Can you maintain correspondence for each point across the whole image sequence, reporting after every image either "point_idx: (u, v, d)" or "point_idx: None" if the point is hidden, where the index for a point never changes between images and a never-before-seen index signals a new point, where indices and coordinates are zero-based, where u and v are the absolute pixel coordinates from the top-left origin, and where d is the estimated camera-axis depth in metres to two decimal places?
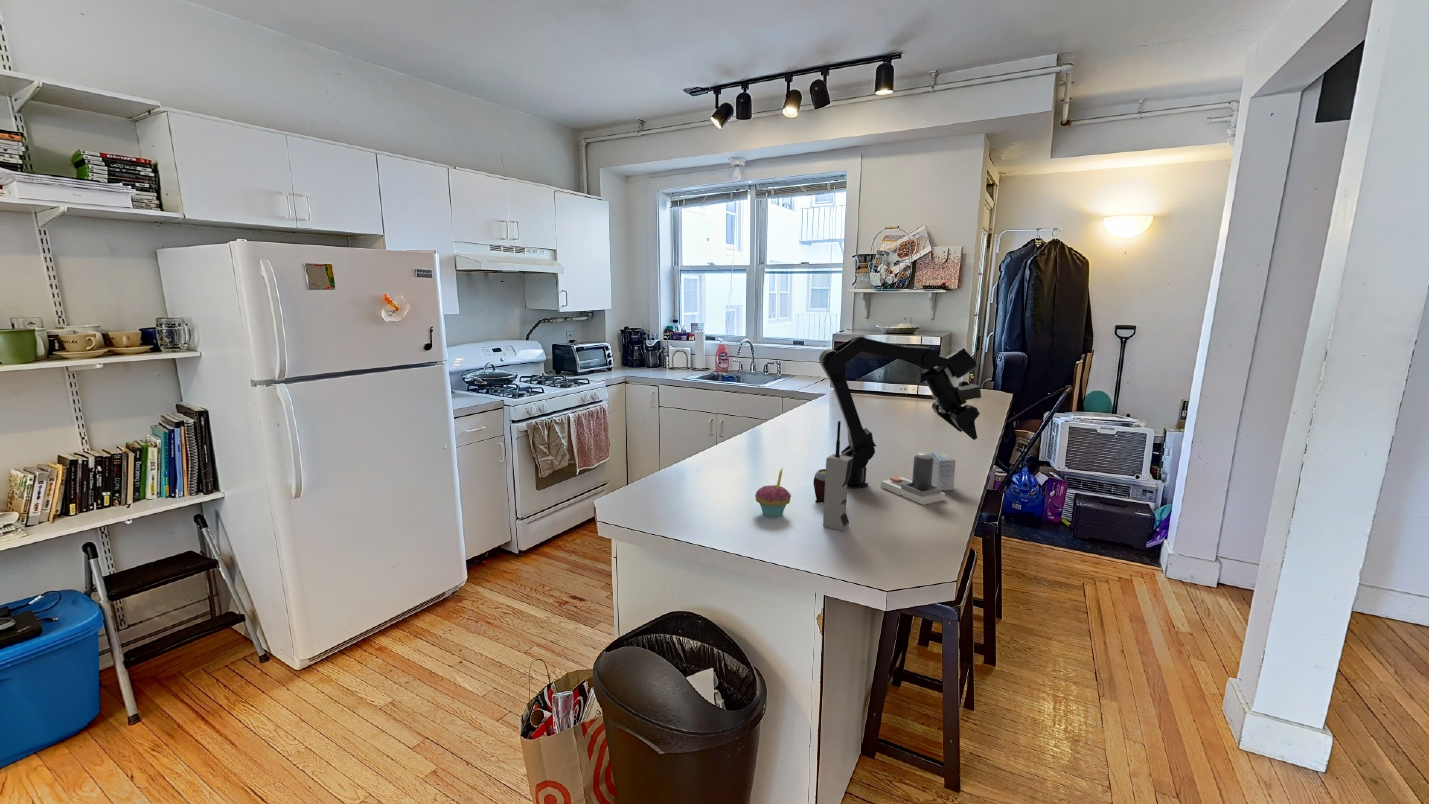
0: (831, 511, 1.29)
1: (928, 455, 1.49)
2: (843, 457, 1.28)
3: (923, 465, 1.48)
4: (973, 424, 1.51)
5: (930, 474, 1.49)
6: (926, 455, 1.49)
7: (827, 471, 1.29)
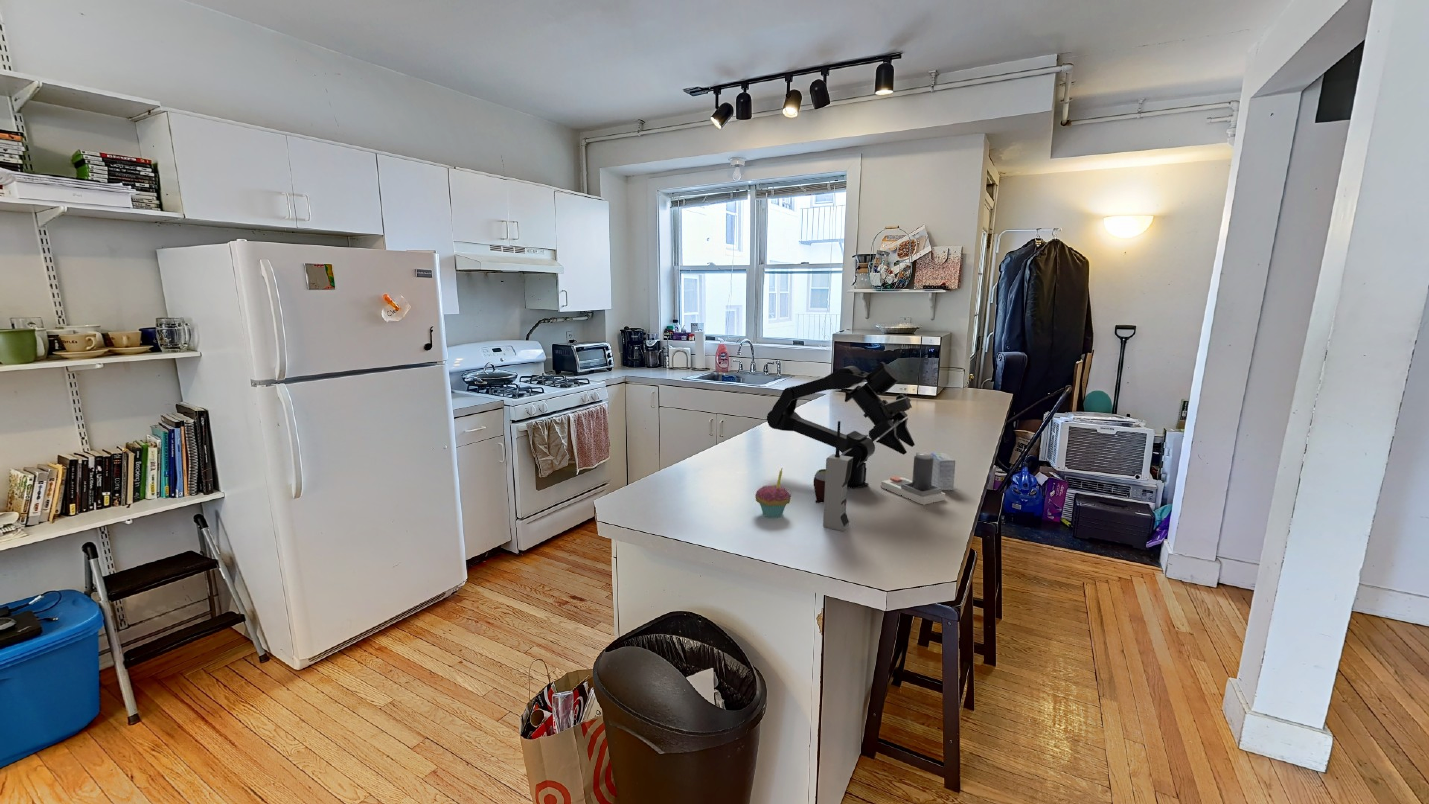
0: (831, 511, 1.29)
1: (928, 455, 1.49)
2: (843, 457, 1.28)
3: (923, 465, 1.48)
4: (894, 438, 1.47)
5: (930, 474, 1.49)
6: (926, 455, 1.49)
7: (827, 471, 1.29)
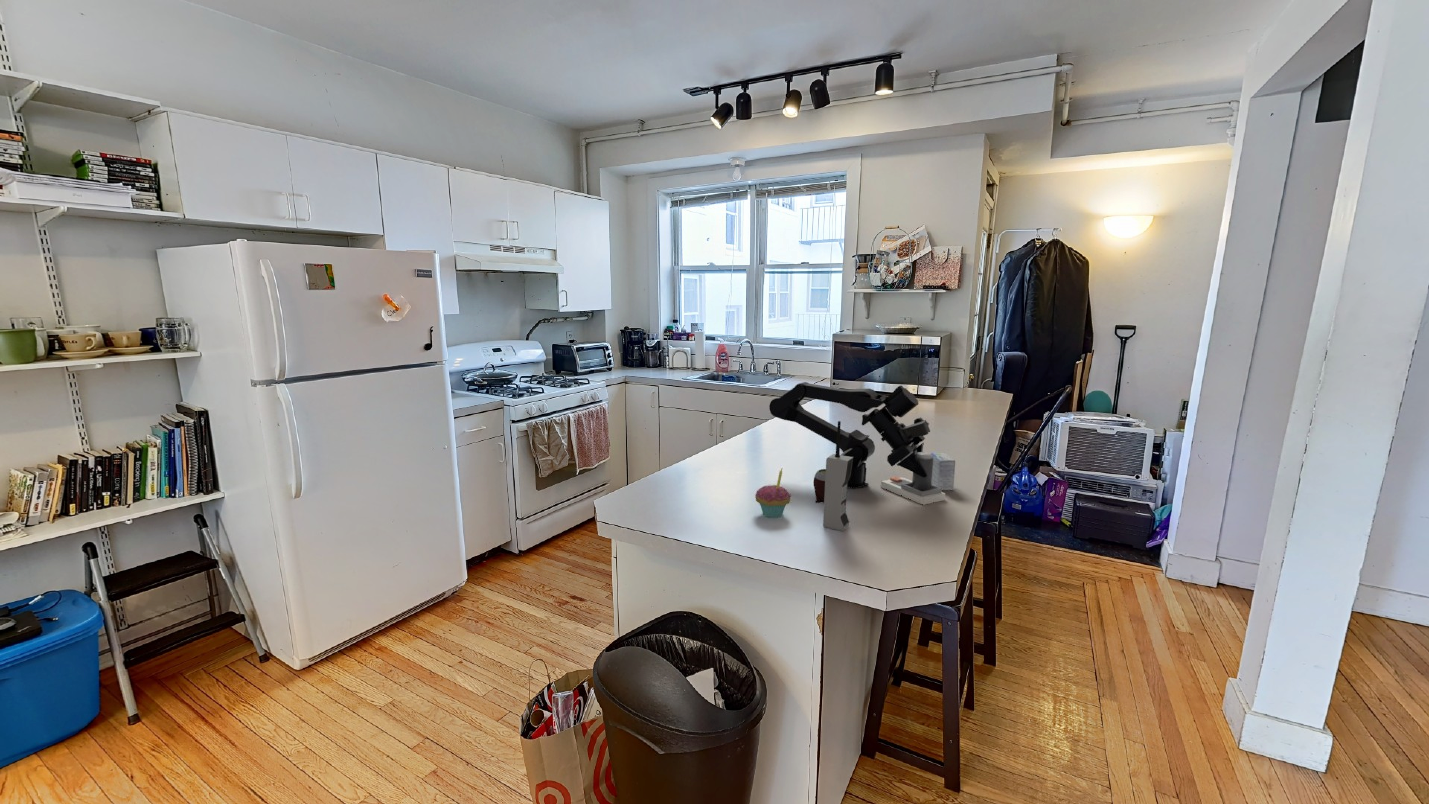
0: (831, 511, 1.29)
1: (928, 455, 1.49)
2: (843, 457, 1.28)
3: (923, 465, 1.48)
4: (915, 461, 1.47)
5: (930, 474, 1.49)
6: (926, 455, 1.49)
7: (827, 471, 1.29)
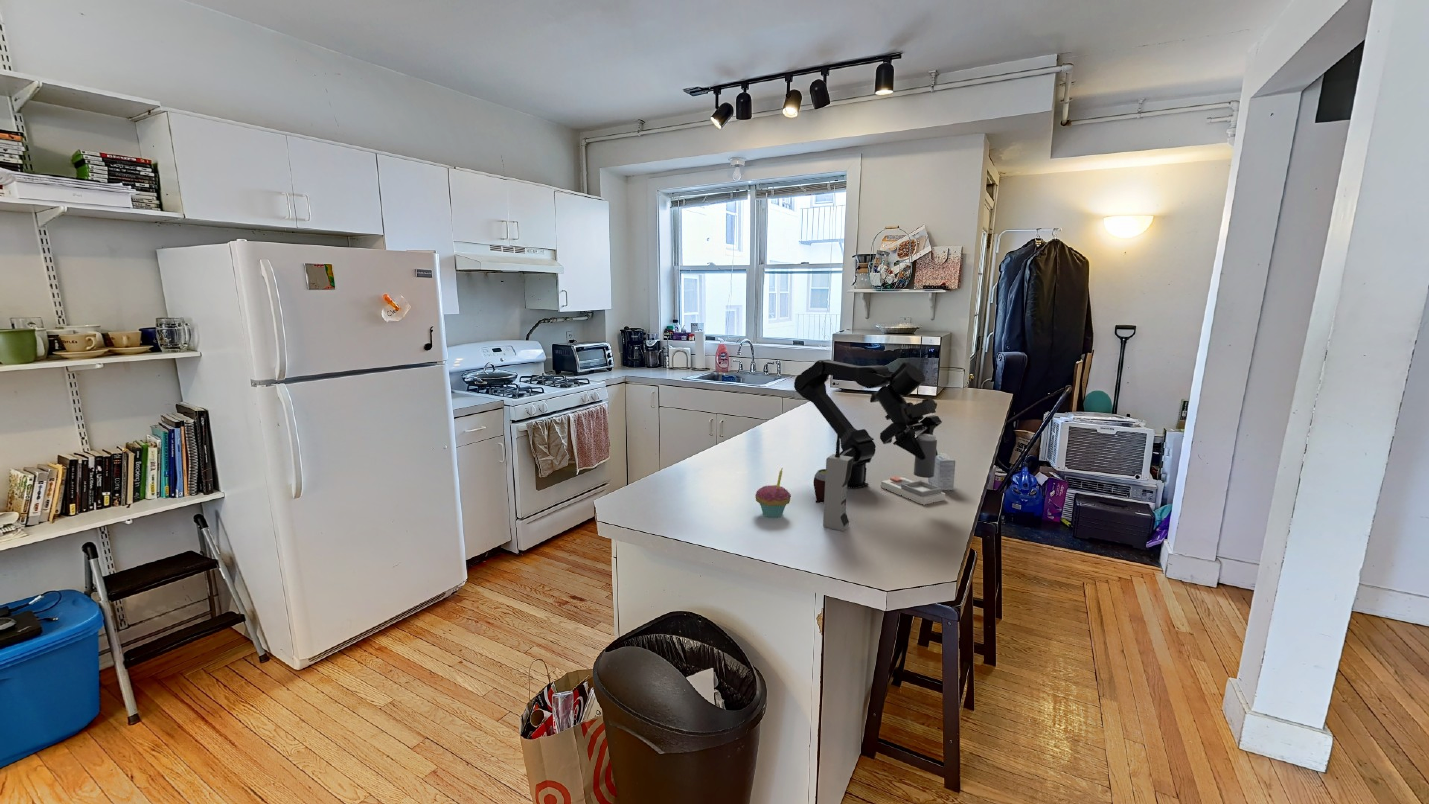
0: (831, 511, 1.29)
1: (930, 437, 1.39)
2: (843, 457, 1.28)
3: (922, 447, 1.39)
4: (912, 441, 1.39)
5: (931, 457, 1.39)
6: (927, 437, 1.40)
7: (827, 471, 1.29)
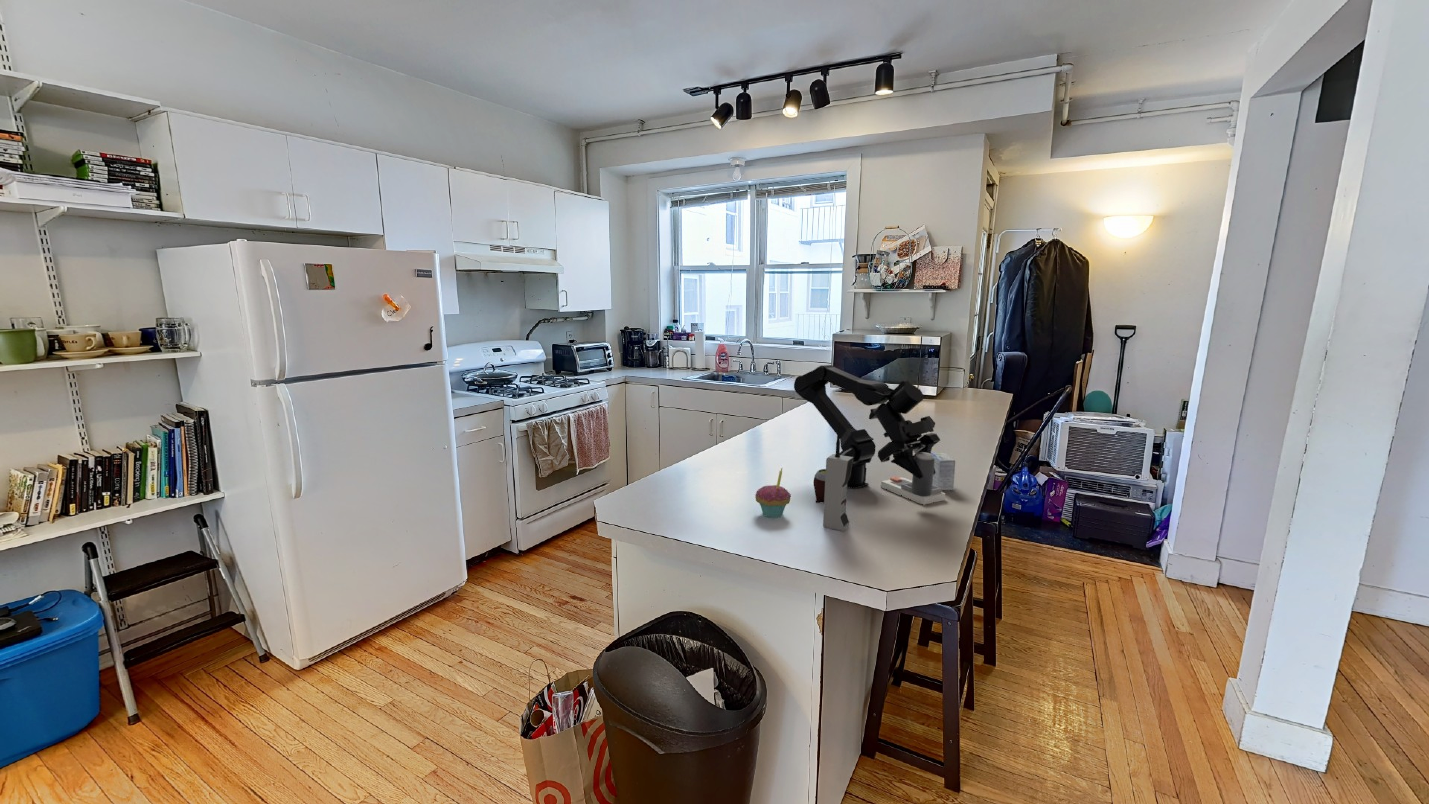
0: (831, 511, 1.29)
1: (927, 456, 1.40)
2: (843, 457, 1.28)
3: (919, 465, 1.40)
4: (909, 460, 1.40)
5: (928, 476, 1.40)
6: (925, 455, 1.40)
7: (827, 471, 1.29)
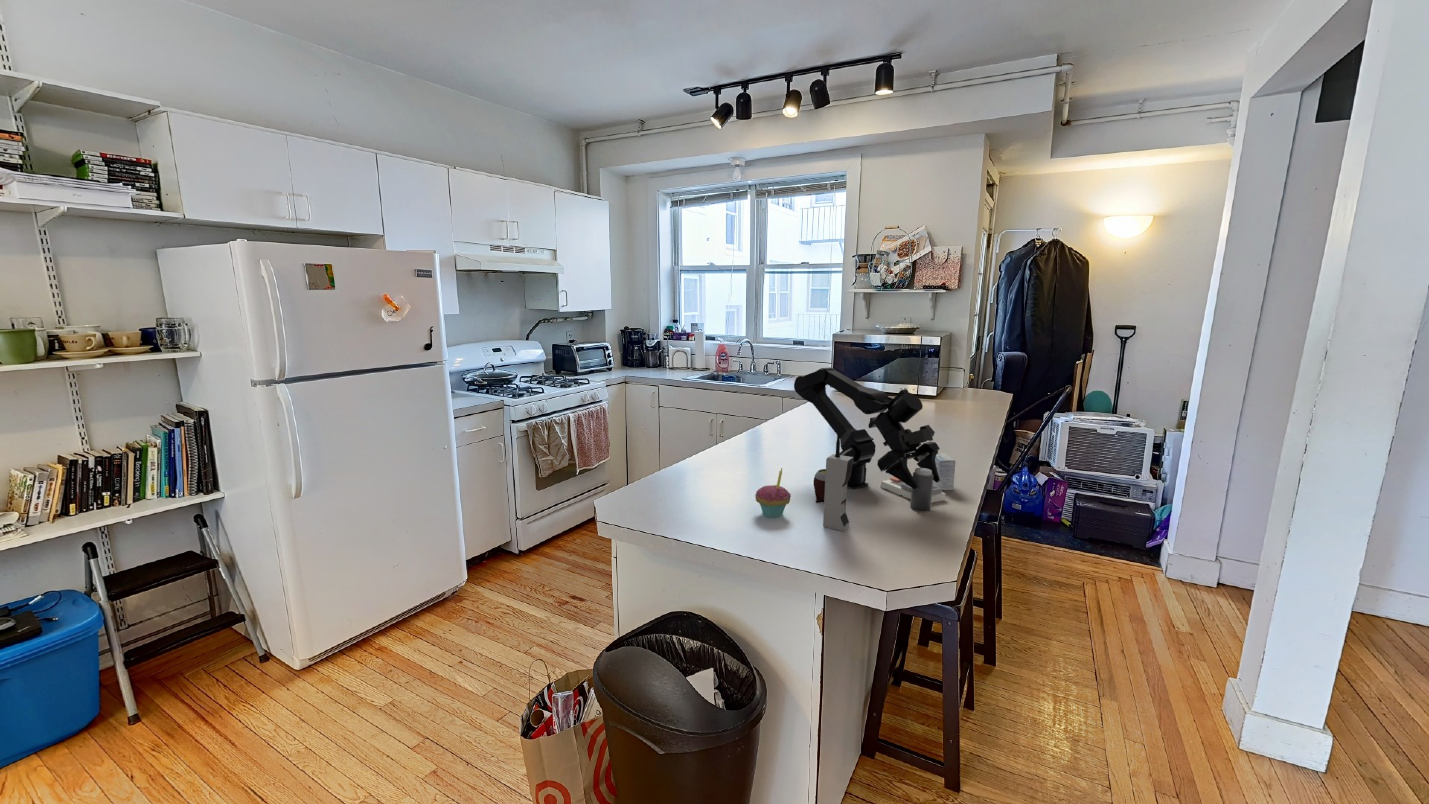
0: (831, 511, 1.29)
1: (926, 471, 1.41)
2: (843, 457, 1.28)
3: (918, 481, 1.41)
4: (904, 470, 1.39)
5: (927, 492, 1.41)
6: (924, 471, 1.41)
7: (827, 471, 1.29)
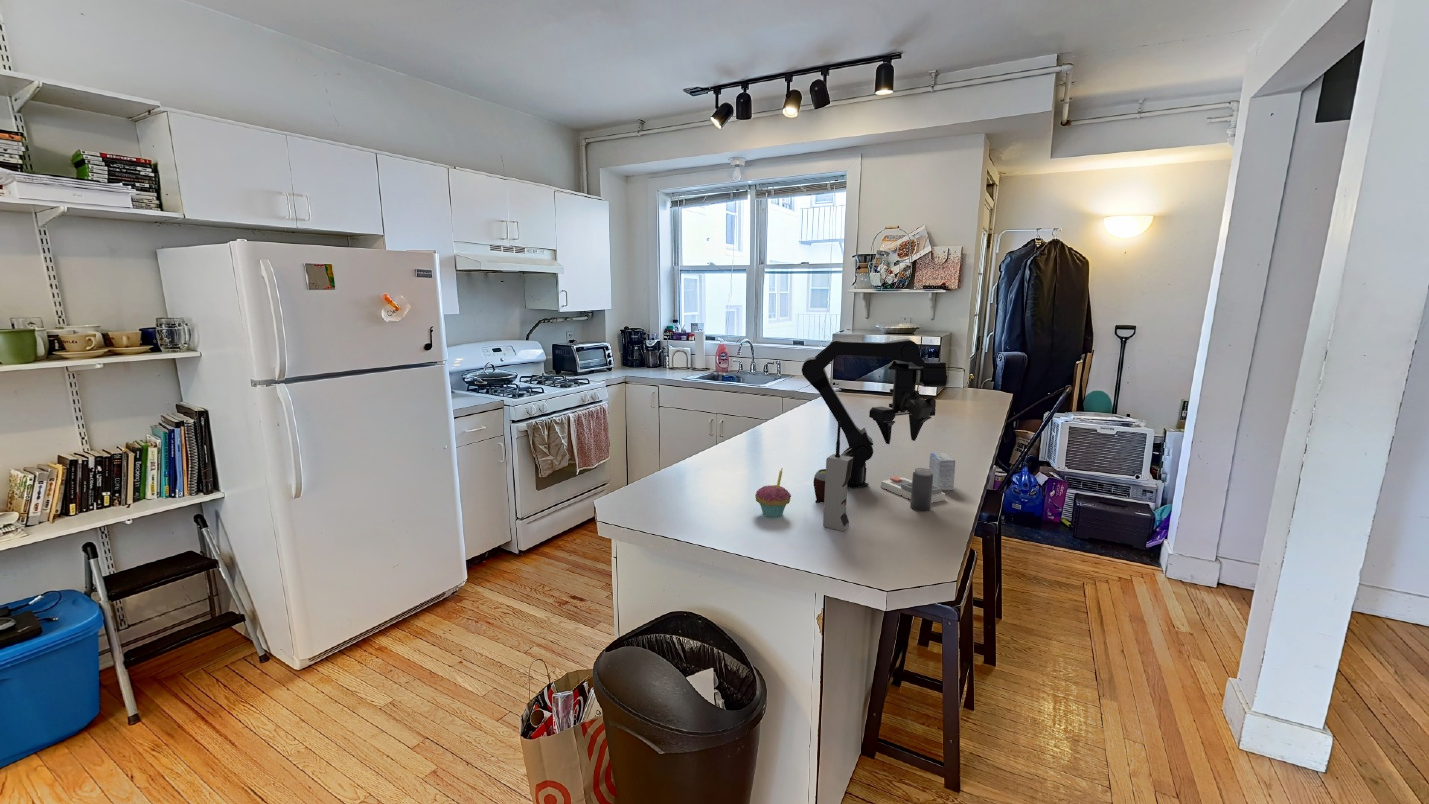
0: (831, 511, 1.29)
1: (926, 471, 1.41)
2: (843, 457, 1.28)
3: (918, 481, 1.41)
4: (886, 428, 1.52)
5: (927, 492, 1.41)
6: (924, 471, 1.41)
7: (827, 471, 1.28)
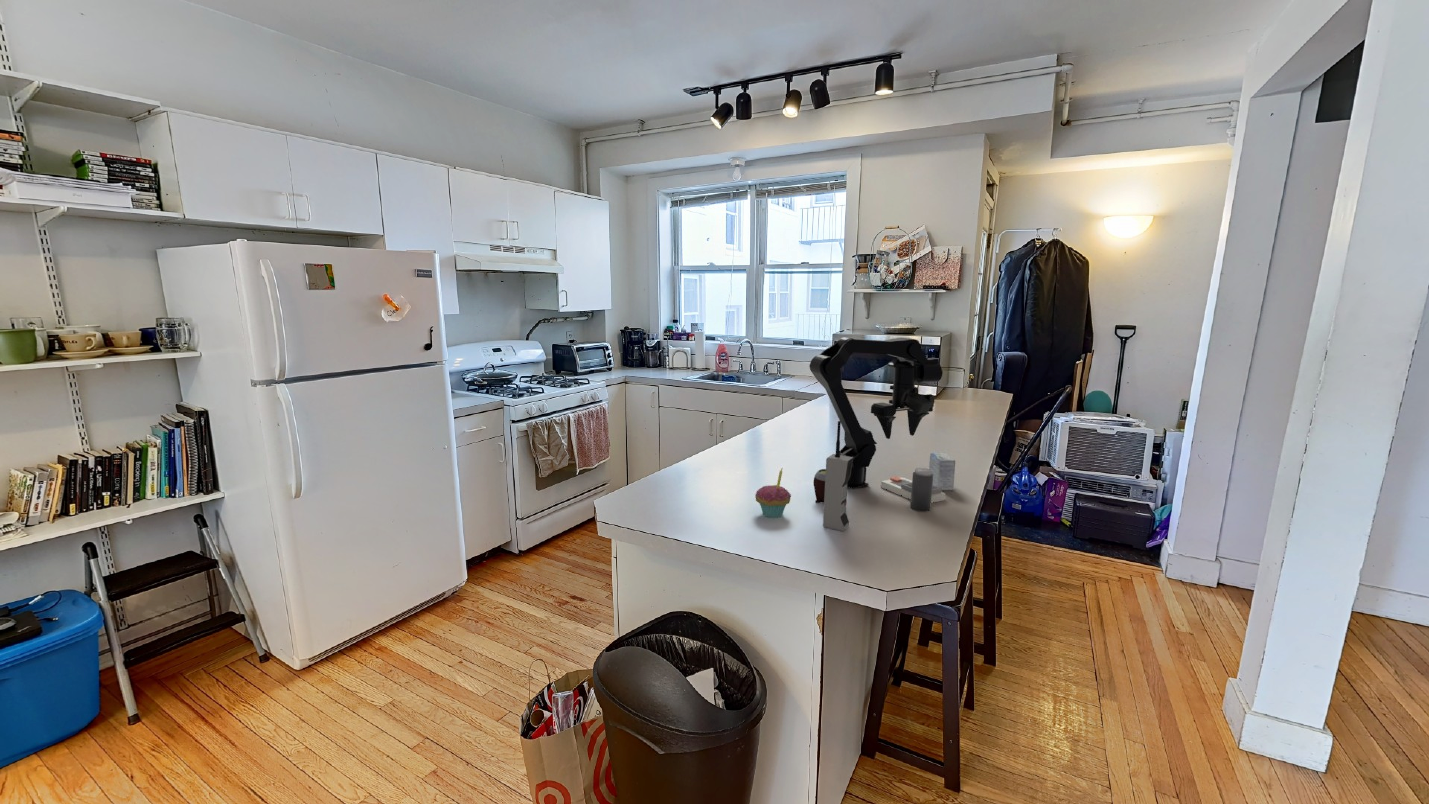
0: (831, 511, 1.29)
1: (926, 471, 1.41)
2: (843, 457, 1.28)
3: (918, 481, 1.41)
4: (887, 423, 1.58)
5: (927, 492, 1.41)
6: (924, 471, 1.41)
7: (827, 471, 1.29)
